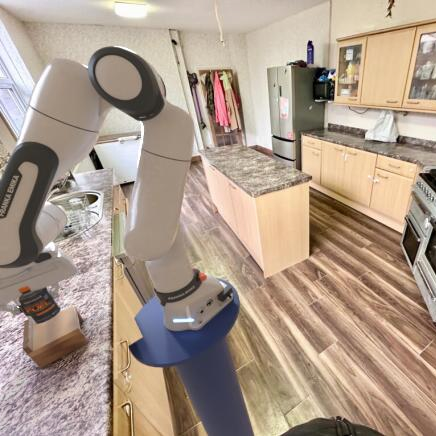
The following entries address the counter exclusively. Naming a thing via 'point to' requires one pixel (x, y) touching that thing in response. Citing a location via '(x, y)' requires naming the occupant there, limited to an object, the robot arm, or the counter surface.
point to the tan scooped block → (53, 337)
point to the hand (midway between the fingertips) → (39, 304)
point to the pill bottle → (37, 305)
